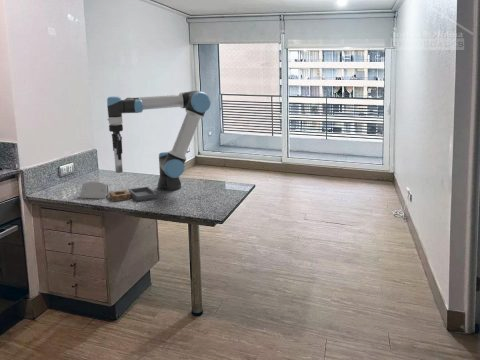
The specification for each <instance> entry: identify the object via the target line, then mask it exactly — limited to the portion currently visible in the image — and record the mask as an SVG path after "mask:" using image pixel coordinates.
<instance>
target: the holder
mask: <svg viewBox="0 0 480 360" xmlns="http://www.w3.org/2000/svg"><path fill="white" fill-rule="evenodd" d="M108 197H109V198H110V199H111V201H112V202H119V201H126V200H130V199H132V198H131V197H132V196H131V195H130V193H129V191H127V190H126V189H124V190H123V189H122V190H116V191H109V196H108Z"/></svg>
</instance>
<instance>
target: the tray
mask: <svg viewBox="0 0 480 360" xmlns="http://www.w3.org/2000/svg"><path fill="white" fill-rule="evenodd" d="M128 192H129V193H130V196H131V197H132V199H134V200H135V201H136V202H143V201H149V200H156V199H158V193H157V192H155V190H153V189H151V188H150V187H149V186H142V187H135V188H128Z"/></svg>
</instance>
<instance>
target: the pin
mask: <svg viewBox="0 0 480 360" xmlns="http://www.w3.org/2000/svg"><path fill="white" fill-rule="evenodd" d="M116 153H117V150H116V148H114V151H113V155H114V167H115V169H114V170H115V173H117V174H120V173H121V174H122V173H123V170H124V169H123V164H122V165H117V155H116Z"/></svg>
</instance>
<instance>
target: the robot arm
mask: <svg viewBox="0 0 480 360" xmlns="http://www.w3.org/2000/svg"><path fill="white" fill-rule="evenodd" d="M211 102H212V101H211V98H210V96H209V95H208V94H207V93H206V92H203V91H199V90H190V91H186V92H179V94H170V95H168V94H167V95H153V96H144V97H143V96H139V97H126V98H124V99H122V98H121V96H108V97H107V98H106V103H107V104H106V105H107V117H108V118H107V121H108V124H109V125H108V130H109V132H112V133H111V138H112V140H111V141H112V151H113V152H114V148H116V150H117V153H116V155H117V165H122V166H123V157H122V156H123V155H122V154H123V141H122V140H123V136H121V135H122V134H121V133H120V132H122V131H124V126H123V114H139V113H140V114H141V113H143V110H144V111H145V110H156V109H157V110H158V109H172V108H181V109H185V113H186V114H185V115H184V119H183V121H182V124H181V127H180V129H179V131H178V134H177V136H176V139H175V142H174V143H173V146H172V148H171V149H172V150H169V151H166V152H164V151H163V152H160V153H159V154H158V163H159V164H158V166H159V167H158V168H159V178H158V182H157V185H156V186H157V189H158V190H161V191H174V190H175V191H176V190H179V189H181V188H182V183H181V179H180V177H181V176H182V175H183V174H184V171H185V163H186V161H187V157H186V154H187V151H188V150H189V147H190V144H191V142H192V140H193V137H194V135H195V133H196V130H197V127H198V126H199V125H198V124H199V122H200V120H201V119H203V118H204V116H205V114H206V112H207V111H208V110H209V109H210V107H211V104H212V103H211Z"/></svg>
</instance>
